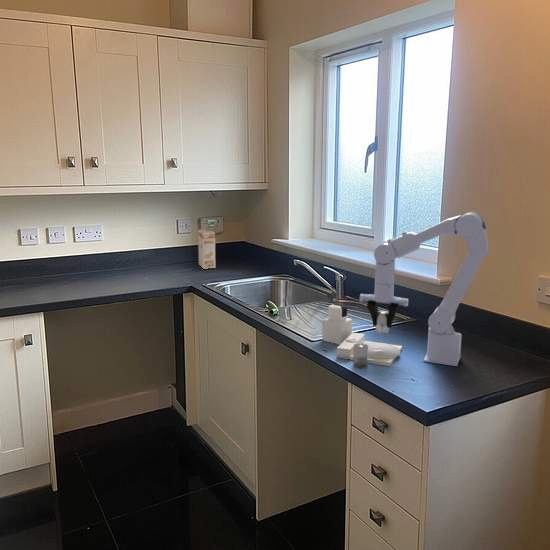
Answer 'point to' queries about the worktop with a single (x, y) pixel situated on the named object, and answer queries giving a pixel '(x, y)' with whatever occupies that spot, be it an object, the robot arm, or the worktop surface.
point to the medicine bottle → (336, 324)
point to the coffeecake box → (206, 248)
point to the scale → (369, 350)
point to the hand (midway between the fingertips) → (382, 326)
